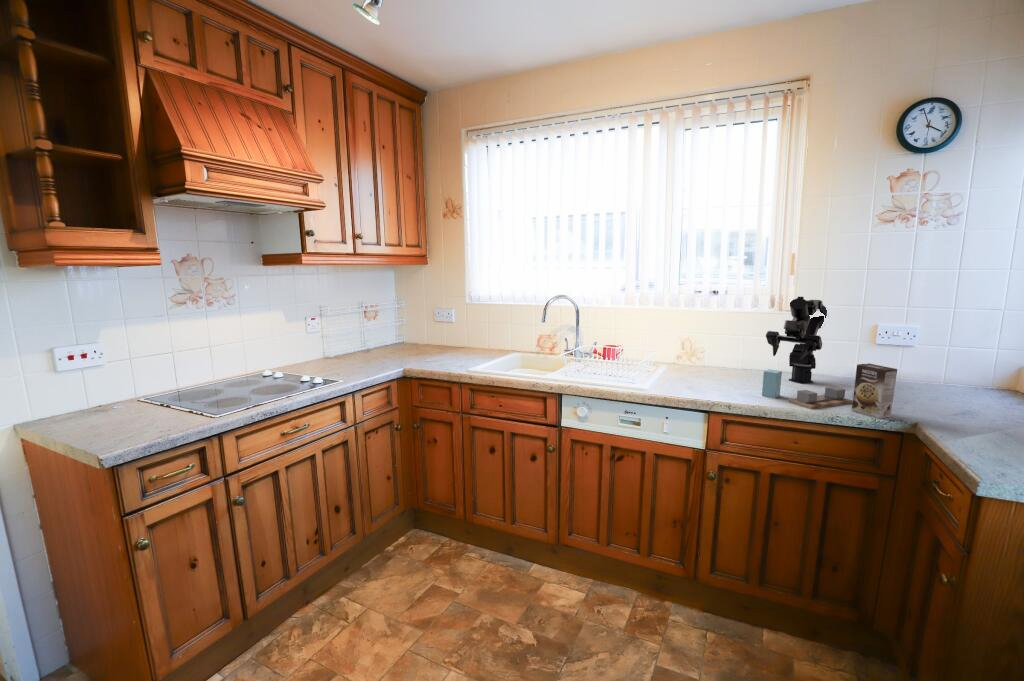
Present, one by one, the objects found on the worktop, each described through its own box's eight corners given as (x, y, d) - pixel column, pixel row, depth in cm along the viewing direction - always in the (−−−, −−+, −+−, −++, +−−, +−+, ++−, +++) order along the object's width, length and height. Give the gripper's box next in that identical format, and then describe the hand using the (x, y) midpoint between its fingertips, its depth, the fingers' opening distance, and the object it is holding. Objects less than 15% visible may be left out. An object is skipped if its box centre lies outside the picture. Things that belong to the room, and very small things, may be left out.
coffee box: (850, 410, 163) (855, 364, 160) (863, 408, 165) (868, 362, 162) (879, 419, 154) (884, 370, 151) (892, 416, 156) (898, 368, 154)
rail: (806, 403, 167) (806, 402, 167) (797, 401, 171) (797, 399, 171) (843, 398, 173) (843, 397, 173) (834, 396, 177) (834, 394, 176)
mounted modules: (808, 402, 167) (808, 394, 167) (796, 399, 171) (797, 390, 171) (844, 397, 173) (845, 389, 172) (832, 394, 177) (833, 386, 176)
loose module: (761, 395, 182) (763, 371, 180) (767, 393, 185) (769, 369, 183) (774, 398, 178) (776, 373, 177) (779, 395, 181) (781, 371, 180)
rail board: (810, 409, 165) (811, 406, 165) (788, 402, 173) (788, 399, 173) (852, 403, 171) (853, 400, 171) (828, 396, 180) (829, 393, 179)
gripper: (769, 310, 192) (756, 341, 186) (823, 314, 178) (811, 347, 172) (774, 328, 198) (762, 358, 192) (827, 333, 185) (815, 365, 179)
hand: (786, 357), depth 184 cm, fingers open, 9 cm apart
